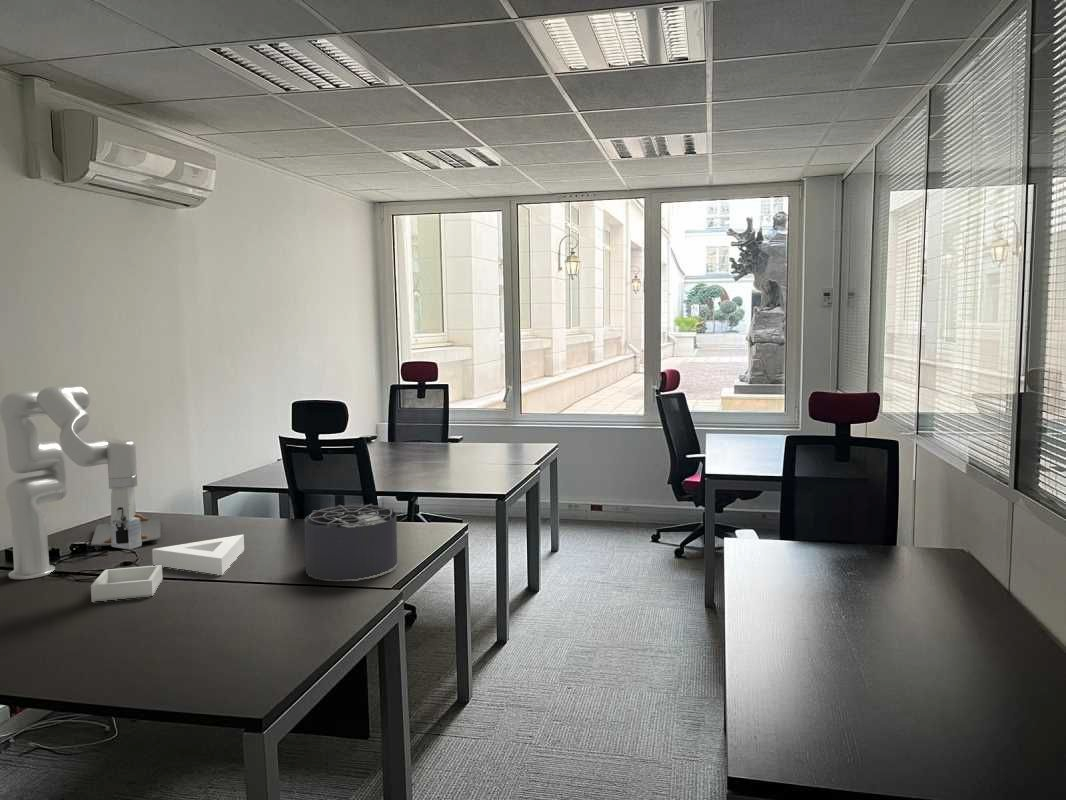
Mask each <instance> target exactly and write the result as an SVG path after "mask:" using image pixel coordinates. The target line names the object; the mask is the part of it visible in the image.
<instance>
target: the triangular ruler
mask: <svg viewBox="0 0 1066 800" xmlns="http://www.w3.org/2000/svg"><path fill="white" fill-rule="evenodd" d="M244 537H245V534H237V535H231V536H227V537H218V538H214V539H207V540H206V539H205V540H201V541H195V542H188V543H187V542H186V543H183V544H182V543H181V544H175V545H169V546H163V547H157V548H152V549H151V556H152V557H151V558H152V566H153V565H162V566H163V567H162V568H164V567H171V568H177V569H176V570H178V569H185V570H192V571H199V572H205V573H211V574H210V575H212V574H217V575H216V576H219V575H223V574H224V575H225V573H226V572H227V571H228V570H229V569H230V568H231V566H232V565H233V564H234V563H235V562H236V561H237V559H238V558H239V557H240V556H241V555H242V553H243V552H244V551H245V538H244ZM240 554H241V555H240ZM239 555H240V556H239ZM238 556H239V557H238ZM237 557H238V558H237ZM234 561H235V562H234ZM233 562H234V563H233ZM232 563H233V564H232ZM231 564H232V565H231ZM230 565H231V566H230ZM171 568H170V569H171ZM228 568H229V569H228ZM227 569H228V570H227ZM226 570H227V571H226ZM225 571H226V572H225ZM224 572H225V573H224ZM205 573H204V574H205ZM224 575H223V576H224Z"/></svg>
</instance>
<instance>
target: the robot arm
mask: <svg viewBox="0 0 1066 800" xmlns="http://www.w3.org/2000/svg"><path fill="white" fill-rule="evenodd" d="M89 394H90V393H89V392H88V391H87V390H86V388H84V387H83V386H81V385H79V384H67V385H65V384H64V385H52V386H51V385H50V386H48V387H44V388H43V389H27V390H17V391H12V392H10V393H7V394H6V395H4V396H3V397H2V399H1V401H0V419H1V423H2V426H3V428H4V430H5V431H4V432H5V441H6V450H7V460H8V461H7V463H8V466H9V468H10V470H11V472H13V473H15V474H27V473H35V472H40V471H41V472H43V474H37V475H31V476H26V477H21V478H16V479H14V480H12V481H11V482H10V483H8V484H7V485H6V488H5V491H4V496H5V499H6V503H7V507H8V510H9V516H10V528H11V540H12V541H11V542H12V554H13V555H12V556H13V557H12V558H13V570H11V571H10V572H8V578H9V579H12V580H29V579H36V578H41V577H44V576H45V577H46V576H48V575H51V574H52V573H51V572H53V571H54V570H55V571H56V567H55V566H54V565H53V564H50V556H49V543H48V542H49V541H48V524H47V517H46V515H45V514H44V512H43V511H42V510H41V509H40V507H39V506H41V505H44V504H48V503H54V502H57V501H60V500H62V499H64V498H65V497H66V495H67V493H68V476H67V464H66V456H67V457H68V459H70V460H71V461H72V462H73V463H74V464H76V465H77V466H78V467H82V468H88V467H90V468H91V467H95V466H102V465H107V474H108V475H107V477H108V489H110V490H111V494H110V495H111V496H110V519H111V521H112V522H115V521H116V543H117V544H123V543H128V542H129V536H128V529H127V521H129V520H131V519H132V518H133V517H134V515H135V514H137V513H136V509H137V508H136V493H135V488H136V487H138V470H137V469H138V468H137V467H138V466H137V453H136V452H137V451H136V443H135V442H134V441H132V440H127V439H126V440H125V439H123V440H121V439H118V438H115V437H113V438H111V437H110V438H109V437H108V438H102V439H94V440H88V441H87V440H86V441H84V440H83V439H81V438H80V437H79V436H78V435H77V434H79V433H81V432H82V431H83V430H85V428H86V427H87V426H88V424H89V423H90V415H89V413H88V412H87V411H86V409H88V407H89V405H90V404H91V403H90V402H91V397H90V395H89ZM43 416H45V417H46V416H48V417H49V419H51V421H52V422H53V423H54V424H55V425H56V426H57V427H58V428H59V429H60V433H59V442H57V441H54V440H42V441H41V440H40V439H39V436H38V435H39V433H38V429H37V426H36V425H35V423H34V422H33V421H32V420H31V419H30V418H32V417H43ZM39 440H40V441H39ZM55 571H54V572H55ZM54 572H53V573H54ZM50 573H51V574H50Z"/></svg>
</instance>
